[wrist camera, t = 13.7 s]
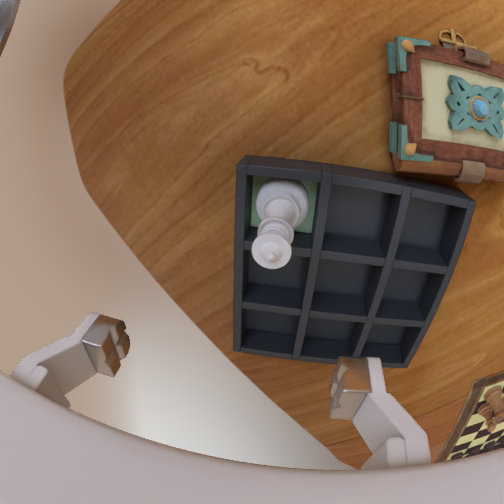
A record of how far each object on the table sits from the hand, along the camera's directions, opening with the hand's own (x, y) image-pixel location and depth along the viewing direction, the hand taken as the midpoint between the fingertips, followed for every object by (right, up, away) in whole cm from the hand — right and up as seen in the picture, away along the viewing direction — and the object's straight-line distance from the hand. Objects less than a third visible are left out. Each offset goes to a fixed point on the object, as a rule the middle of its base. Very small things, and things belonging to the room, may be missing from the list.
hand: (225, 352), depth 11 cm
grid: (+10, +2, +18) cm, 21 cm away
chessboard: (+62, -32, +27) cm, 75 cm away
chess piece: (+4, +8, +15) cm, 18 cm away
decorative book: (+20, +17, +8) cm, 27 cm away
